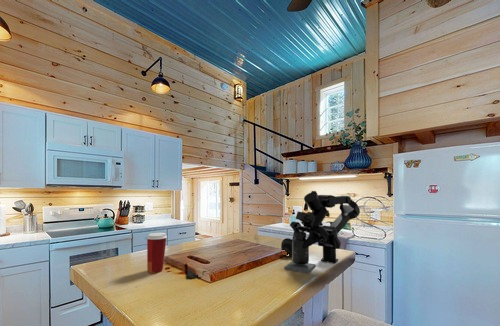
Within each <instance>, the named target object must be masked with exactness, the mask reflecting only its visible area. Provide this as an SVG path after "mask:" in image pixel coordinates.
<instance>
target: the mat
mask: <svg viewBox="0 0 500 326" xmlns="http://www.w3.org/2000/svg"><path fill="white" fill-rule="evenodd" d="M316 266H317V265H316V263H311V262H310V263H309V262H308V263H307V264H296V263H294V262H293V261H292V260H291V261H290V262H289V263H287V264H286V265H285V266H283V268H284V270H285V271H286V270H288V271H293V272H297V273H298V272H299V273H304V274H308V275H309V274H310V273H311V272H312V271H313V270H314V269H315V268H316Z"/></svg>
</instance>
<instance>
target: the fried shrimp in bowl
mask: <svg viewBox="0 0 500 326" xmlns="http://www.w3.org/2000/svg"><path fill="white" fill-rule="evenodd" d="M292 239H293V238H292ZM292 239H291V238H288V237H287V238H284V239H283V240H282V241H281V246H280V249H281V251H282V250H285V251H286V252H287V255H288V254H289V256H286V255H283V256H284V257H292V244H291V243H292Z"/></svg>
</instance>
